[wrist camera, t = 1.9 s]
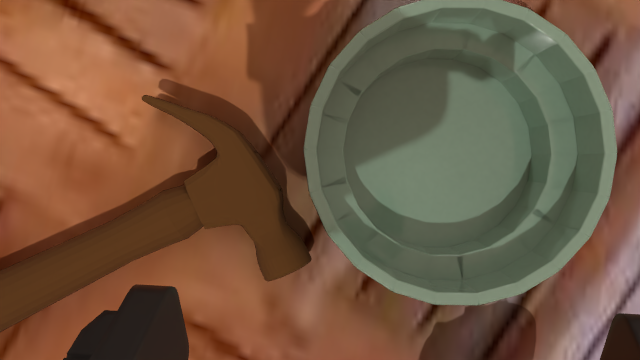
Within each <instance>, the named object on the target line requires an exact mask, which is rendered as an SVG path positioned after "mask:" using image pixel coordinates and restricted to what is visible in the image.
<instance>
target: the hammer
mask: <svg viewBox="0 0 640 360" xmlns="http://www.w3.org/2000/svg"><path fill="white" fill-rule="evenodd" d="M142 100H143V101H144V102H146V103H148V104H149V105H151V106H153V107H155V108H157V109H160V110H162V111H164V112H166V113H168V114H170V115H172V116H174V117H175V118H177V119H179V120H181V121H182V122H184V123H186V124H187V125H189V126H190V127H192V128H193V129H195V130H196V131H198V132H199V133H201V134H202V135H203V136H205V137H206V138H207V139H208V140H209V141H210V142H211V143H212V144H213V145H214V147H215V149H216V150H217V156H216V159H214V160H213V161H212V162H211V163H209V164H208V165H207V166H206V167H204V168H203V169H201V170H200V171H198V172H197V173H195V174H194V175H192V176H191V177H189V178H188V179H186V180H185V181H184V183H185V185H183V186H179V187H175V188H171V189H168V190H164V191H162V192H161V193H159V194H158V195H156V196H154V197H153V198H151V199H150V200H148V201H146V202H145V203H143V204H141V205H139V206H137V207H136V208H134V209H132V210H130V211H129V212H127V213H125V214H123V215H121V216H120V217H118V218H116V219H114V220H112V221H110V222H108V223H106V224H103V225H101V226H99V227H97V228H95V229H92V230H90V231H88V232H86V233H83V234H81V235H79V236H77V237H74V238H72V239H70V240H68V241H66V242H63V243H61V244H59V245H57V246H54V247H52V248H50V249H48V250H46V251H43V252H41V253H39V254H37V255H34V256H32V257H30V258H28V259H25V260H23V261H21V262H19V263H17V264H14V265H12V266H10V267H8V268H5V269H3V270H1V271H0V332H1V331H3V330H5V329H7V328H9V327H10V326H12V325H14V324H16V323H18V322H20V321H22V320H24V319H25V318H27V317H29V316H31V315H33V314H35V313H37V312H38V311H40V310H42V309H44V308H46V307H48V306H50V305H51V304H53V303H55V302H57V301H59V300H61V299H63V298H64V297H66V296H68V295H70V294H72V293H74V292H76V291H77V290H79V289H81V288H83V287H85V286H87V285H89V284H90V283H92V282H94V281H96V280H98V279H100V278H102V277H104V276H105V275H107V274H109V273H111V272H113V271H115V270H117V269H118V268H120V267H122V266H124V265H126V264H128V263H130V262H131V261H133V260H136V259H138V258H140V257H143V256H145V255H147V254H150V253H152V252H154V251H157V250H159V249H161V248H164V247H166V246H168V245H171V244H174V243H176V242H179V241H182V240H185V239H187V238H189V237H190V236H191V235H193V234H194V233H195V232H197V231H198V230H199V229H200V228H202V227H203V226H204V228H205V229H208V228H214V227H219V226H226V225H233V224H236V225H241V226H242V227H243V228H244V229H245V231H246V232H247V233H248V235H249V236H250V237H251V239H252V240H253V241H254V243H255V247H256V255H257V260H258V264H259V267H260V270H261V272H262V274H263V276H264V279H265V280H266V281H272V280H275V279H278V278H281V277H283V276H286V275H288V274H290V273H292V272H294V271H296V270H298V269H300V268H302V267H303V266H305V265H306V264H308V263H309V262H310V261H311V256H310V254H309V252H308V250H307V248H306V246H305V244H304V242H303V241H302V239H301V238H300V237H299V235H298V234H297V233H296V232H295V231H293V230H292V229H291V228H290V227H289V225H288V224H287V223H286V220H285V218H284V214H283V195H282V190H281V189H282V188H281V187H280V185H279V184H278V182H277V181H276V179H275V178H274V176H273V175H272V173H271V172H270V170H269V169H268V167H267V165H266V164H265V162H264V161H263V159H262V158H261V156H260V155H259V153H258V152H257V151H256V150H255V149H254V147H253V146H252V145H251V144H250V143H249V141H248V140H247V139H246V138H245V137H244V135H242V134H241V133H240V132H239V131H237V130H236V129H234V128H233V127H231V126H230V125H228V124H226V123H225V122H223V121H221V120H219V119H216V118H214V117H212V116H210V115H207V114H204V113H201V112H198V111H194V110H191V109H188V108H185V107H182V106H179V105H176V104H174V103H171V102H168V101H165V100H161V99H158V98H155V97H152V96H148V95H144V96H143V97H142Z"/></svg>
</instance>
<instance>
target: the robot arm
mask: <svg viewBox="0 0 640 360" xmlns="http://www.w3.org/2000/svg"><path fill="white" fill-rule="evenodd" d="M188 357H189V343H188V338H187V333H186V328H185V324H184V319H183V314H182V310H181V305H180V300H179V296H178V292H177V290H176V288H175V287H172V286H154V285H134V286H133V287H132V288H131V289H130V290H129V292H128V294H127V295H126V297H125V299H124V300H123V302H122V304H121V306H120V307H119V309H118V311H108V310H105V311H103V312H102V313H101V314H100V315H99V316H98V317H96V318H95V319H94V320H93V321H92V322H90V323H89V324H88V325H87V326H86V327H85V328H83V329H82V330H81V332H80V334H79V335H78V337H77V338H76V340H75V342H74V343H73V345H72V346H71V348H70V349H69V351H68V353H67V358H64V359H63V360H188ZM600 360H640V315H638V314H621V313H620V314H617V315H616V316H615V317H614V318H613V321H612V324H611V327H610V330H609V333H608V336H607V339H606V342H605V345H604V348H603V351H602V354H601V358H600Z"/></svg>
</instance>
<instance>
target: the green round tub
mask: <svg viewBox="0 0 640 360" xmlns="http://www.w3.org/2000/svg"><path fill="white" fill-rule="evenodd" d="M616 153H617V146H616V137H615V128H614V119H613V111H612V107H611V105H610V103H609V100H608V98H607V96H606V93H605V91H604V89H603V86H602V84H601V82H600V79H599V77H598V75H597V72H596V70H595V69H594V67H593V65H592V64H591V63H590V62H589V61H588V59H587V58H586V57H585V56H584V54H583V53H582V52H581V51H580V50H579V48H578V47H577V46H576V45H575V44H574V42H573V41H572V40H571V39H570V38H569V36H568V35H567V34H565V32H563V31H562V30H560V29H559V28H557V27H556V26H554V25H553V24H551V23H550V22H548V21H547V20H545V19H544V18H542V17H540V16H539V15H537V14H536V13H534V12H533V11H531V10H530V9H528V8H526V7H522V6H519V5H516V4H513V3H509V2H506V1H503V0H421V1H417V2H414V3H410V4H407V5H403V6H400V7H398V8H395V9H393V10H392V11H390V12H389V13H387V14H386V15H384V16H382V17H381V18H379V19H378V20H376V21H374V22H373V23H371V24H370V25H368V26H366V27H365V28H363V29H362V30H360V32H358V33H357V34H356V35H355V36H354V37H353V39H352V40H351V41H350V42H349V43H348V44H347V45H346V46H345V48H344V49H343V50H342V51H341V52H340V53H339V54H338V56H337V57H336V58H335V59H334V60H333V61H332V62H331V63H330V65H329V66H328V69H327V71H326V73H325V75H324V77H323V79H322V81H321V83H320V86H319V88H318V90H317V92H316V94H315V96H314V98H313V100H312V103H311V106H310V110H309V116H308V123H307V129H306V135H305V142H304V158H305V166H306V173H307V181H308V189H309V193H310V196H311V199H312V201H313V203H314V206H315V208H316V210H317V212H318V215H319V217H320V219H321V221H322V224H323V226H324V228H325V231H326V232H327V233H328V236H329V237H330V238H331V239H332V240H333V241H334V243H335V244H336V245H337V246H338V247H339V249H340V250H341V251H342V252H343V253H344V255H345V256H346V257H347V258H348V259H349V260H350V262H351V263H352V264H353V265H354V266H355V267H356V268H357V269H359V270H360V271H362V272H363V273H365V274H366V275H368V276H369V277H371V278H372V279H374V280H375V281H377V282H378V283H380V284H381V285H383V286H384V287H386V288H387V289H389V290H390V291H393V292H395V293H398V294H401V295H404V296H408V297H411V298H414V299H417V300H420V301H424V302H427V303H430V304H435V305H483V304H486V303H490V302H494V301H497V300H501V299H505V298H508V297H512V296H516V295H520V294H521V293H524V292H526V291H527V290H529V289H531V288H532V287H534V286H536V285H537V284H539V283H541V282H542V281H544V280H545V279H547V278H549V277H550V276H552V275H554V274H555V273H557V272H559V270H561V269H562V268H563V266H564V265H565V264H566V263H567V262H568V261H569V260H570V259H571V258H572V257H573V256H574V254H575V253H576V252H577V251H578V250H579V249H580V248H581V247H582V246H583V245H584V244H585V242H586V241H587V240H588V239H589V237H591V235H592V233H593V231H594V229H595V227H596V225H597V223H598V221H599V219H600V216H601V214H602V212H603V210H604V208H605V206H606V204H607V202H608V200H609V197H610V193H611V187H612V181H613V176H614V170H615V164H616V158H617V154H616Z"/></svg>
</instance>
